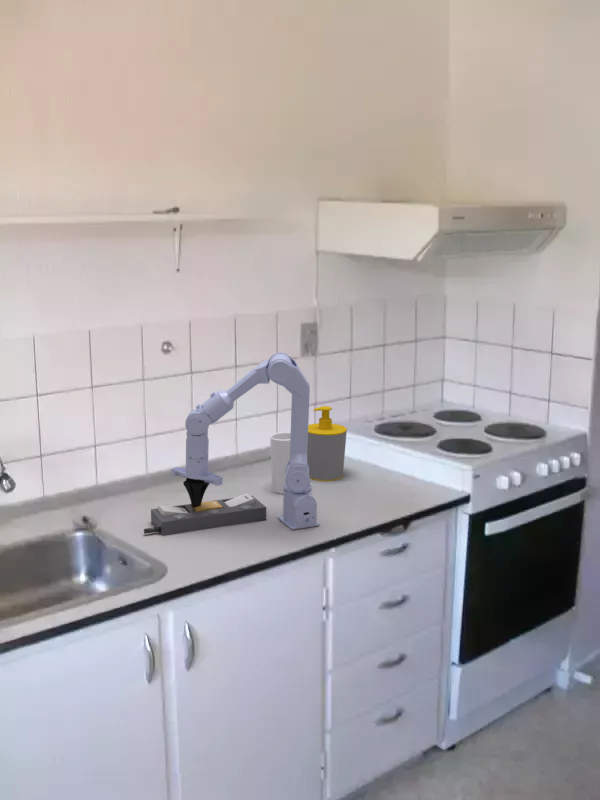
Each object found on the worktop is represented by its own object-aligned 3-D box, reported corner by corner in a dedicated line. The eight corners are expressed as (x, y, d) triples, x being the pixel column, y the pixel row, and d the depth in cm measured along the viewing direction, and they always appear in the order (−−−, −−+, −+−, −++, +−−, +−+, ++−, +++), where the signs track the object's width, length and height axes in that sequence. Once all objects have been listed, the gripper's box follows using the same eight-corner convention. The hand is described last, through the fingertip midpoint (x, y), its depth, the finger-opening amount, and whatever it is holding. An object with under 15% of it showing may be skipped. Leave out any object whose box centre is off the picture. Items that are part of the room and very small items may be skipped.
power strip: (266, 519, 234) (266, 506, 233) (146, 537, 221) (146, 523, 220) (251, 507, 243) (251, 494, 242) (135, 524, 230) (135, 510, 229)
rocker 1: (188, 519, 229) (189, 513, 229) (162, 516, 226) (164, 510, 226) (182, 512, 233) (184, 507, 233) (157, 510, 230) (158, 504, 230)
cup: (291, 495, 252) (289, 441, 249) (266, 491, 256) (264, 437, 253) (306, 487, 259) (304, 433, 256) (281, 483, 263) (280, 430, 260)
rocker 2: (255, 503, 236) (253, 498, 236) (231, 512, 234) (229, 507, 234) (248, 497, 241) (247, 492, 240) (224, 507, 238) (223, 502, 238)
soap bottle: (300, 469, 277) (301, 402, 272) (342, 468, 279) (344, 402, 274) (305, 482, 265) (306, 412, 260) (349, 481, 266) (351, 412, 261)
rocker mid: (222, 511, 233) (222, 506, 233) (197, 514, 230) (197, 508, 230) (216, 506, 237) (216, 500, 237) (191, 508, 234) (191, 502, 234)
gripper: (229, 457, 229) (228, 507, 232) (183, 447, 236) (182, 496, 239) (213, 464, 223) (212, 515, 226) (167, 454, 230) (166, 504, 233)
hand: (196, 506), depth 232 cm, fingers closed, pressing on rocker mid
